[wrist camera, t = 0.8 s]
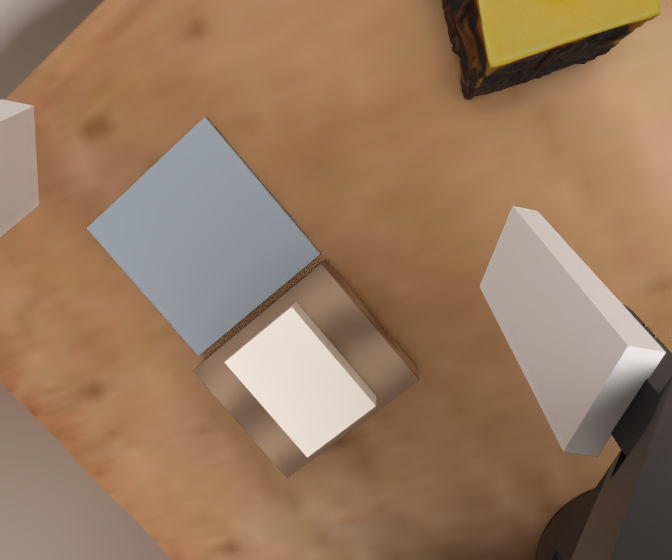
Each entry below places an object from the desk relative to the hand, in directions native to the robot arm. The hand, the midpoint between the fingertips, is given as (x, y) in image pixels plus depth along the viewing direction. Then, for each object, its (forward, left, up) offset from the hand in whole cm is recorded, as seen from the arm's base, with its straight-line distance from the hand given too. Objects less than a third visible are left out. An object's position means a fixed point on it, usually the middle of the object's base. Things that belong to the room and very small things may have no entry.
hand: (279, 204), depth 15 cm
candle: (+2, -18, -29) cm, 35 cm away
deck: (-9, +12, -29) cm, 33 cm away
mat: (+5, +12, -29) cm, 32 cm away
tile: (-9, +12, -26) cm, 30 cm away
